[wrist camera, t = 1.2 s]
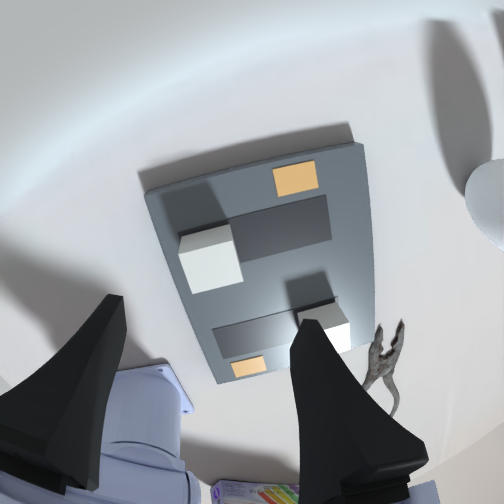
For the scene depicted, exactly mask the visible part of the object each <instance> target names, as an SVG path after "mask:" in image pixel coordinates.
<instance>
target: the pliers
mask: <svg viewBox="0 0 504 504" xmlns="http://www.w3.org/2000/svg"><path fill="white" fill-rule="evenodd" d="M396 335H397V336H396V339H395V340H394V341H393V342H392V344H391V346H392V348H393V350H392V351H391V352H390V353H388V354H387V355H386V357H382V356H379V354H380V353H381V352H382V351H383V347H382V345H381V343H382V341H383V329H382V328H381V327H379V329H378V331H377V333H376V336H375V338H374V341H373V343H372V345H371V348H370V350H369V372H368V374H367V377H366V380H365V382H364V384H363V385H362V387H363V388H364V390H365V391H367V390H368V389H369V388H370V386H371V385H372V384H373V383H374V381H375V380H376V379H378V378H379V377H381V376H383V380H384V383H385V385H386V386H387V388H388V389H389V390H390V392H391V393H392V395H393V397H394V407H393V410H392V412H391V414H390V416H391V417H393V416H394V414H395V412H396V410H397V408H398V405H399V400H400V398H399V393H398V390H397V388H396V386H395V384H394V382H393V379H392V374H393V373H394V368H395V365H396V362H397V360H398V358H399V355H400V352H401V349H402V346H403V340H404V323H403V322H401V323H400V325H399V328H398V330H397V332H396Z"/></svg>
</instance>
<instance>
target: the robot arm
mask: <svg viewBox="0 0 504 504" xmlns="http://www.w3.org/2000/svg"><path fill="white" fill-rule="evenodd" d="M126 332H127V327H126V319H125V310H124V301H123V296H119V295H113V294H108V295H106V297H105V298H104V299H103V301H102V302H101V303H100V304H99V306H98V307H97V308H96V309H95V311H94V312H93V313H92V314H91V316H90V317H89V318H88V319H87V320H86V322H85V323H84V324H83V325H82V326H81V327H80V329H79V330H78V331H77V332H76V333H75V334H74V335H73V337H72V338H71V339H70V340H69V341H68V342H67V343H66V344H65V345H64V346H63V347H62V348H61V349H60V350H59V351H58V352H57V353H56V354H55V355H54V356H53V357H52V358H51V359H50V360H49V361H48V362H46V363H45V364H44V365H43V366H42V367H40V368H39V369H38V370H37V371H36V372H35V373H33V374H32V375H31V376H29V377H28V378H27V379H25V380H24V381H22V382H21V383H20V384H18V385H17V386H15V387H14V388H12V389H11V390H9V391H8V392H6V393H4V394H3V395H1V396H0V504H201V490H200V484H199V481H198V480H197V478H196V477H195V475H194V474H193V473H192V472H191V471H185V461H184V460H180V427H181V415H183V414H190V413H193V412H194V407H193V405H192V404H191V402H190V400H189V399H188V397H187V395H186V393H185V392H184V390H183V388H182V386H181V385H180V383H179V381H178V379H177V377H176V376H175V374H174V372H173V370H172V368H171V366H170V365H168V364H159V365H154V366H148V367H142V368H136V369H130V370H124V371H117V368H118V365H119V362H120V358H121V355H122V352H123V347H124V342H125V337H126ZM289 351H290V372H291V379H292V385H293V391H294V397H295V403H296V409H297V415H298V422H299V439H300V482H299V498H298V504H440V500H439V496H438V492H437V488H436V484H435V481H434V480H431V481H429V482H425V483H422V484H419V485H415V486H412V487H410V488H408V486H407V483H408V482H410V477H409V474H411V473H412V472H414V471H416V470H418V469H419V468H421V467H422V466H424V465H425V464H426V463H427V462H428V461H429V458H428V454H427V451H426V448H425V444H424V442H423V441H422V440H421V439H419V438H418V437H416V436H415V435H413V434H412V433H410V432H409V431H408V430H406V429H405V428H404V427H402V426H401V425H400V424H399V423H398V422H396V421H395V420H394V419H393V418H392V417H391V416H389V415H388V414H387V413H386V412H385V411H384V410H383V409H382V408H381V407H380V406H379V405H378V404H377V403H376V402H375V401H374V400H373V399H372V398H371V396H370V395H369V394H368V393H367V392H366V391H365V390H364V388H363V387H362V386H361V385H360V384H359V382H358V381H357V380H356V378H355V377H354V376H353V374H352V373H351V372H350V370H349V369H348V367H347V366H346V364H345V363H344V361H343V360H342V358H341V357H340V355H339V354H338V352H337V351H336V349H335V348H334V346H333V344H332V343H331V341H330V340H329V338H328V336H327V335H326V333H325V331H324V330H323V328H322V326H321V325H320V323H319V321H318V320H316V319H303V320H302V323H301V325H300V327H299V329H298V331H297V334H296V336H295V338H294V340H293V342H292V345H291V347H290V349H289ZM116 371H117V372H116Z"/></svg>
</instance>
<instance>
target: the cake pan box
mask: <svg viewBox="0 0 504 504" xmlns="http://www.w3.org/2000/svg"><path fill="white" fill-rule="evenodd" d="M210 492H211V500H212V504H298V498H299V485H286V484H263V483H248V482H237V481H227V480H220V481H219V482H218V483H216V484H215V485H214V486H212V487H211V489H210Z"/></svg>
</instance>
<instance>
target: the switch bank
mask: <svg viewBox="0 0 504 504" xmlns="http://www.w3.org/2000/svg"><path fill="white" fill-rule="evenodd" d="M144 198H145V201H146V204H147V207H148V210H149V213H150V216H151V219H152V222H153V225H154V228H155V231H156V233H157V236H158V239H159V242H160V245H161V248H162V250H163V253H164V256H165V259H166V261H167V264H168V267H169V269H170V272H171V275H172V277H173V280H174V283H175V285H176V288H177V290H178V293H179V295H180V298H181V300H182V303H183V305H184V308H185V310H186V313H187V315H188V318H189V320H190V323H191V325H192V328H193V330H194V332H195V335H196V337H197V339H198V342H199V344H200V346H201V349H202V351H203V353H204V356H205V358H206V360H207V362H208V365H209V367H210V369H211V371H212V374H213V376H214V378H215V380H216V382H217V384H222V383H226V382H231V381H236V380H240V379H244V378H249V377H253V376H257V375H261V374H266V373H270V372H273V371H277V370H281V369H285V368H289V367H290V351H289V349H290V347H291V345H292V342H293V340H294V338H295V336H296V334H297V331H298V329H299V327H300V325H299V320H298V314H297V313H299V312H303V311H306V310H310V309H313V308H317V307H320V306H324V305H327V304H331V303H334V302H337V303H338V305H339V306H340V308H341V310H342V311H343V313H344V314H345V316H346V318H347V319H348V321H349V325H350V349H352V348H355V347H358V346H361V345H364V344H367V343H370V342H373V341H374V335H375V284H374V254H373V236H372V221H371V208H370V197H369V187H368V177H367V169H366V161H365V153H364V145H363V144H361V143H357V142H352V143H346V144H340V145H335V146H329V147H324V148H319V149H313V150H308V151H303V152H298V153H294V154H289V155H284V156H280V157H275V158H271V159H266V160H262V161H257V162H253V163H249V164H245V165H241V166H237V167H233V168H229V169H225V170H221V171H217V172H213V173H209V174H205V175H202V176H198V177H194V178H191V179H187V180H184V181H180V182H176V183H173V184H170V185H166V186H163V187H159V188H156V189H153V190H149V191H147V193H146V194H145V195H144ZM228 224H230V228H231V231H232V235H233V239H234V243H235V246H236V250H237V254H238V257H239V261H240V266H241V271H242V276H243V282H239V283H235V284H231V285H227V286H223V287H219V288H215V289H211V290H207V291H203V292H199V293H195V294H192V292H191V289H190V286H189V284H188V281H187V278H186V275H185V272H184V270H183V267H182V264H181V261H180V258H179V255H178V253H179V248H180V242H181V237H182V236H186V235H189V234H193V233H197V232H201V231H205V230H208V229H212V228H216V227H220V226H224V225H228Z"/></svg>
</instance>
